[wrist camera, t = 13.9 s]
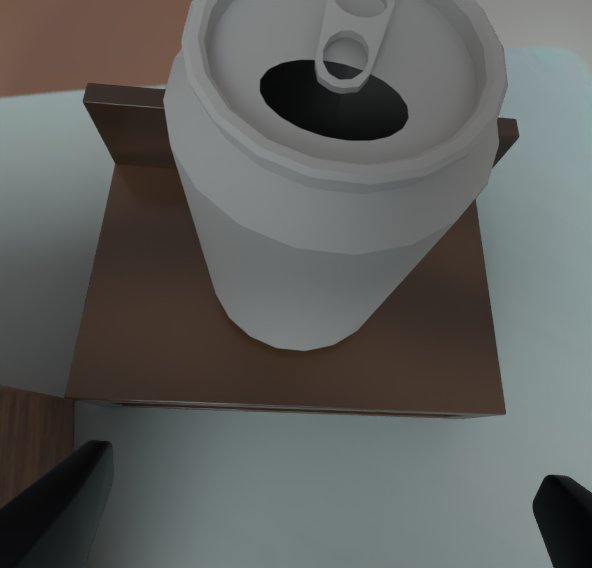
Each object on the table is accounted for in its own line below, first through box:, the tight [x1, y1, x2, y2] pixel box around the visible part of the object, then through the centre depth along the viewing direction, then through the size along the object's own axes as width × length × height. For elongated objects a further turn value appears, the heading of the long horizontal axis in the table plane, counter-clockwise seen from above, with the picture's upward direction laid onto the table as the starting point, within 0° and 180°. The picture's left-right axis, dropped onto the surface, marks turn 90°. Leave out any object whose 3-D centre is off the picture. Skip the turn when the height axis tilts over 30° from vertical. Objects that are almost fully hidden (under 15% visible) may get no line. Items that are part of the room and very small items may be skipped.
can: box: [163, 0, 508, 351], centre depth 13 cm, size 8×8×12 cm
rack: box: [65, 83, 519, 419], centre depth 19 cm, size 12×18×8 cm, turn 88°
